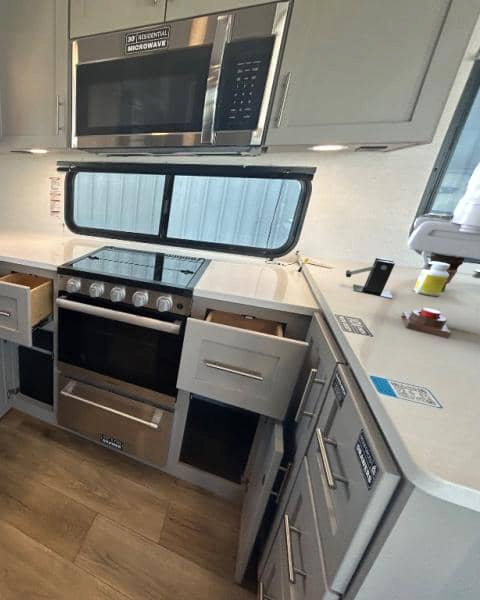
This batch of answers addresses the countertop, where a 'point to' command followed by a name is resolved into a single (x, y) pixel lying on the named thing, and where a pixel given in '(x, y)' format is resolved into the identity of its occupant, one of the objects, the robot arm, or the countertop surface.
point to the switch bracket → (377, 279)
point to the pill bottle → (432, 280)
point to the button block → (426, 324)
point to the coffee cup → (449, 259)
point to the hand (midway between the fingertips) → (450, 273)
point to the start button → (430, 313)
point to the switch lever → (358, 271)
